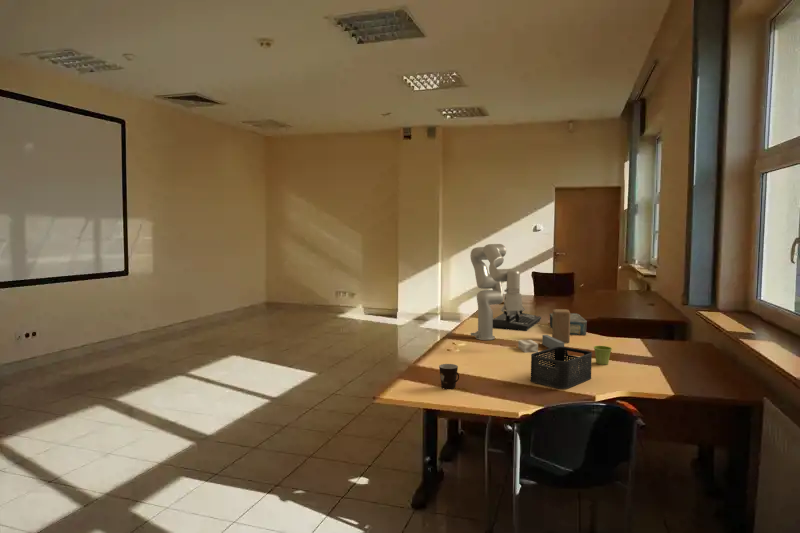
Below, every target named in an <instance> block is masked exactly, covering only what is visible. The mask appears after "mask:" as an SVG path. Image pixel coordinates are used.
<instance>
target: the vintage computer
mask: <svg viewBox="0 0 800 533" xmlns="http://www.w3.org/2000/svg"><path fill="white" fill-rule="evenodd" d="M515 315H516V311H510V313H509V316H510V322H509V323H508V322H507V321H506V315H505V314H504V312H502V313H501V314H499V315H498V316H496V317H495V318H494V317H493V329H498V330H500V329H501V330H508V329H509V330H511V331H524V332H527V331H528V330H530V329H531V328H532V327H534V326H535V325H536V324H538V323H540V321H541V320H542V316H540V315H535V314H530V313H524V312H522V313H521V314H520V315H519V322H516V321H515Z"/></svg>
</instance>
